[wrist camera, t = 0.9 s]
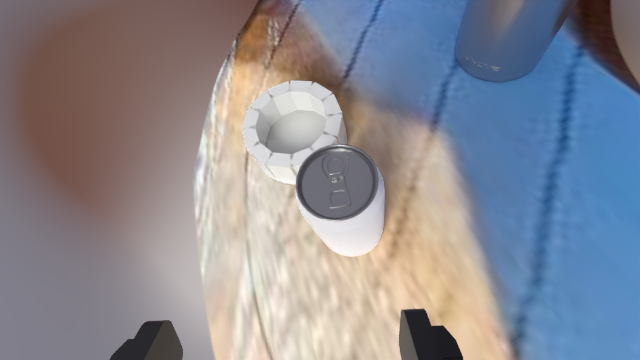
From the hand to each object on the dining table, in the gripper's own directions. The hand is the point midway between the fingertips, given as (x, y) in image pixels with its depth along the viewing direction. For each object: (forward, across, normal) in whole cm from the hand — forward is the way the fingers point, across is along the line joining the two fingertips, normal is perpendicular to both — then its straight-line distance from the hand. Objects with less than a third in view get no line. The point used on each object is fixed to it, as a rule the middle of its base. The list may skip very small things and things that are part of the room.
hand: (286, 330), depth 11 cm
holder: (+27, +1, +3) cm, 27 cm away
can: (+19, -4, +10) cm, 21 cm away
